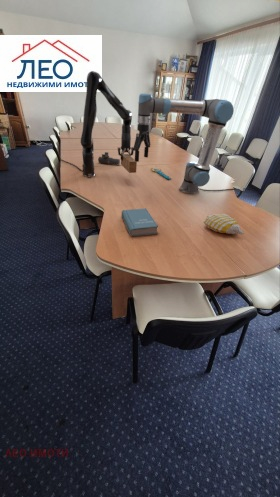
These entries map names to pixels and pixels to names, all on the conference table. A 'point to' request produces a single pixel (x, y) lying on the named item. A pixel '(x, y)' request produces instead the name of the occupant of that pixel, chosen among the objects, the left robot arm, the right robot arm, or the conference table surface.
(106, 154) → the laser sight
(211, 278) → the conference table surface
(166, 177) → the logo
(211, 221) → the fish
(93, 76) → the left robot arm
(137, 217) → the book
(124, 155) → the bar
